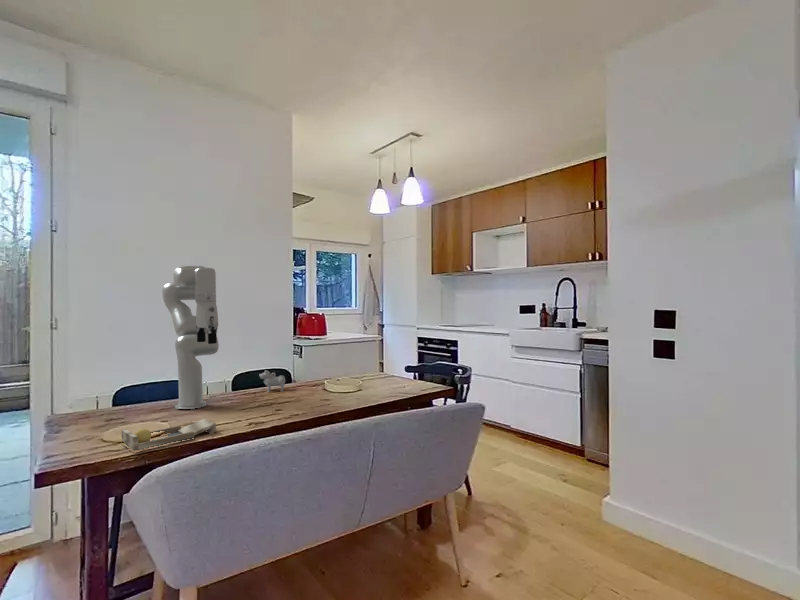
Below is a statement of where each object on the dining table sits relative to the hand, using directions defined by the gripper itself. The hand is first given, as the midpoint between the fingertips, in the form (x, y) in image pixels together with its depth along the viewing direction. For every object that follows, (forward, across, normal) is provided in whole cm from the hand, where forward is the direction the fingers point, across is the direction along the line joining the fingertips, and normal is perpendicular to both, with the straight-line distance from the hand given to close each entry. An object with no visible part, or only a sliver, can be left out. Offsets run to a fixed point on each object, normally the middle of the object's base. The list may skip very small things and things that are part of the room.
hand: (206, 342), depth 183 cm
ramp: (+30, -15, +11) cm, 36 cm away
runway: (+30, -15, +24) cm, 41 cm away
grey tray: (+30, -15, +24) cm, 41 cm away
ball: (+27, -16, +29) cm, 43 cm away
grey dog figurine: (+31, +27, -46) cm, 61 cm away
